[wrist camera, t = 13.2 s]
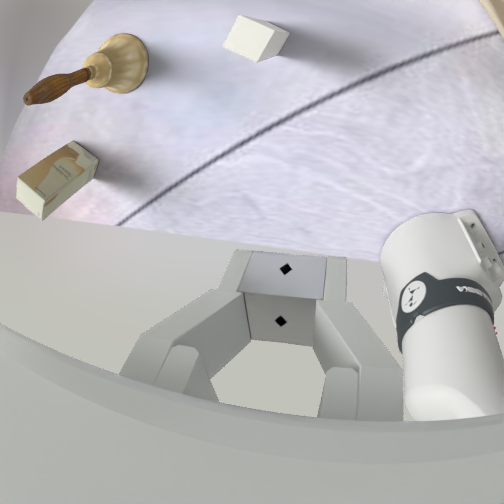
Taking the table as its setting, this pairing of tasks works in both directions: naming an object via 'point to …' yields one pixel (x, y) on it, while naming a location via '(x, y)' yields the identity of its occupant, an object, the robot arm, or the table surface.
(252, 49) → the gate posts
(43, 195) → the skincare box
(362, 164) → the table surface
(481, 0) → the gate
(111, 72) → the hand bell
